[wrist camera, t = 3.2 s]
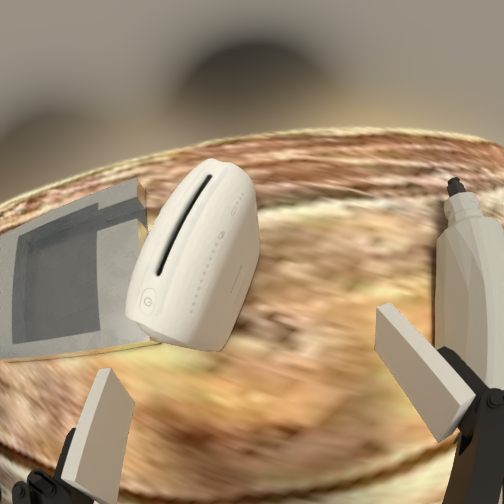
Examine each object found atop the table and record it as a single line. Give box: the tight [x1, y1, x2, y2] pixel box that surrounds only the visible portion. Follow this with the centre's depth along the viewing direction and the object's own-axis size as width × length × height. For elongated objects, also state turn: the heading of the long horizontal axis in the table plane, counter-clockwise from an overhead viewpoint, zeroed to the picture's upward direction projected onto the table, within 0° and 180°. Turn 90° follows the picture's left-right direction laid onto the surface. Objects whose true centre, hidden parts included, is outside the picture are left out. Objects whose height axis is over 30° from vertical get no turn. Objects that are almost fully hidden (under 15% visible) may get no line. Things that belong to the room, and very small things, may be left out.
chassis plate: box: [0, 178, 162, 362], centre depth 23 cm, size 22×16×2 cm
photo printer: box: [125, 159, 260, 351], centre depth 18 cm, size 10×4×12 cm, turn 160°
